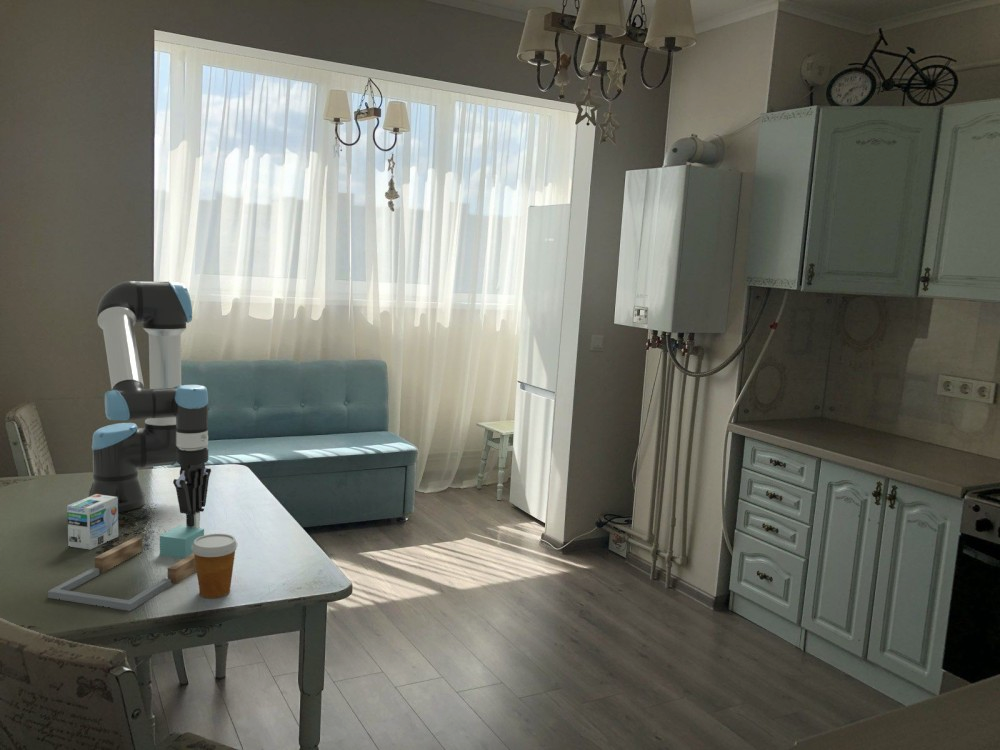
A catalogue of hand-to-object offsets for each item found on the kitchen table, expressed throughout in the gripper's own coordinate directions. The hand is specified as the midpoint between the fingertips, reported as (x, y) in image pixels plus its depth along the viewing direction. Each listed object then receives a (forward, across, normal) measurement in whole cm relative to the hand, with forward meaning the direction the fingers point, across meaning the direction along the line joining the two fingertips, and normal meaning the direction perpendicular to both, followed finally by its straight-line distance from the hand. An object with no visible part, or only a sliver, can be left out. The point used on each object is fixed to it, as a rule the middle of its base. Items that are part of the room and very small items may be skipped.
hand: (193, 536), depth 200 cm
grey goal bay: (+2, -29, 0) cm, 29 cm away
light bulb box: (+2, -6, +24) cm, 25 cm away
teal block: (+2, -5, 0) cm, 5 cm away
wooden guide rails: (+2, -15, 0) cm, 15 cm away
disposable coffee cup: (+2, -23, -21) cm, 31 cm away
